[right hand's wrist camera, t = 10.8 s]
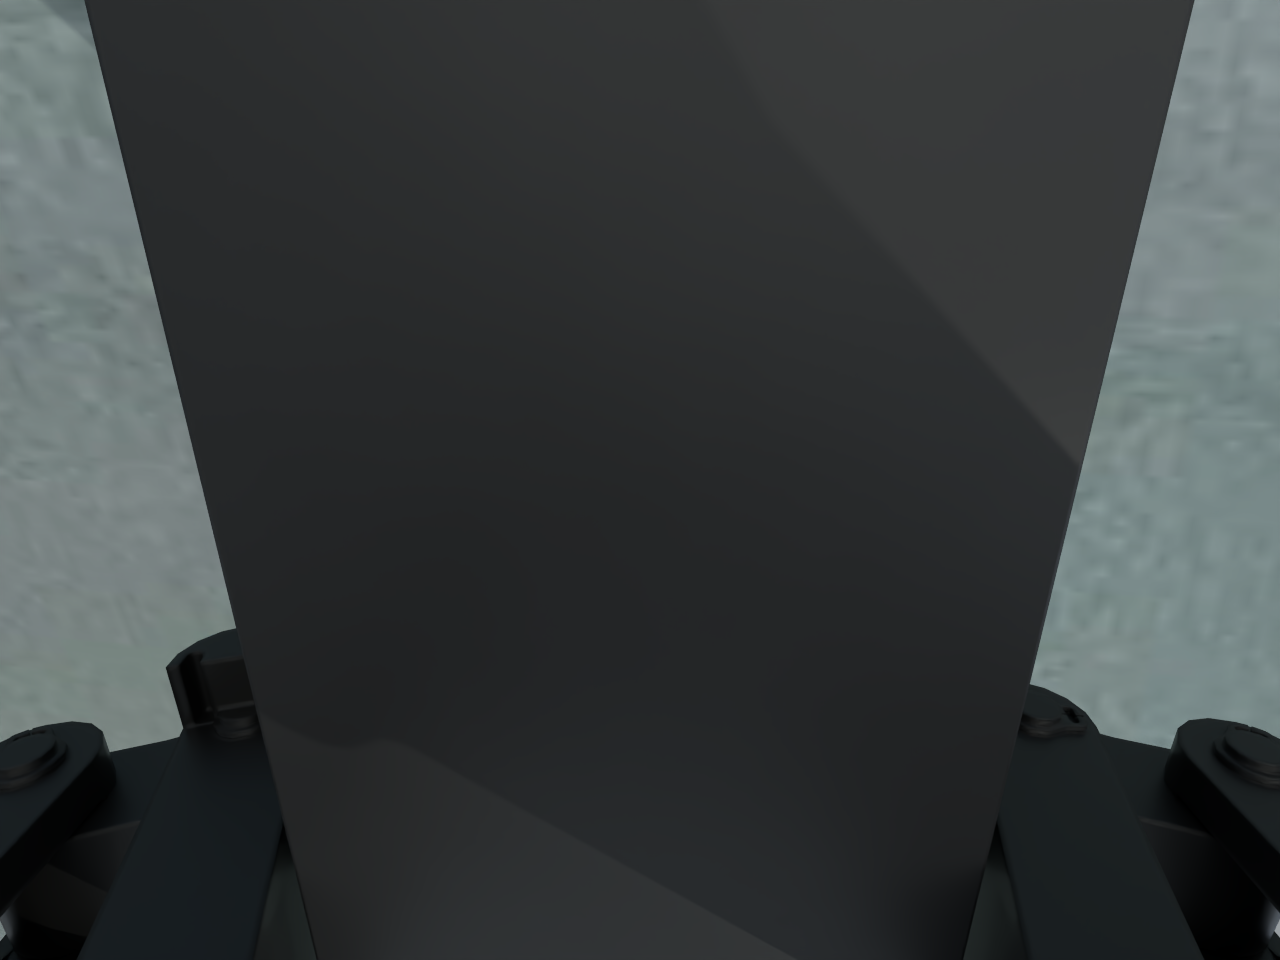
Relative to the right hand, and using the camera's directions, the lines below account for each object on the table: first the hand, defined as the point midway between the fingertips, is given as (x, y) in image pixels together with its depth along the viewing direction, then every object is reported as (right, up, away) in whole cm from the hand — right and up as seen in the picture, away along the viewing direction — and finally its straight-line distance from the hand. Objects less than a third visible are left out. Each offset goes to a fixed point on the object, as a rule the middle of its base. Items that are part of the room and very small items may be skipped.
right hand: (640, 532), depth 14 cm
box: (0, +7, -2) cm, 7 cm away
